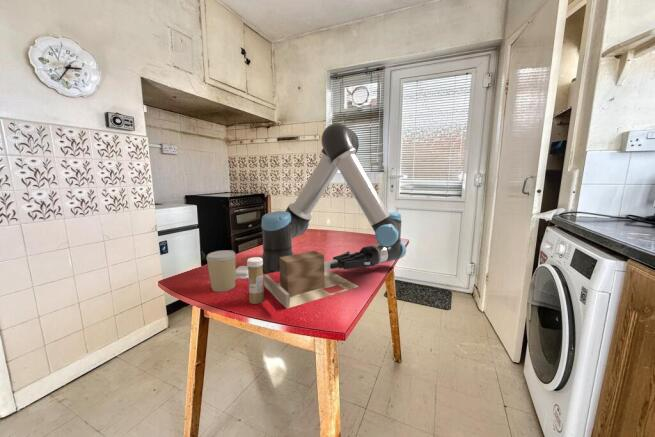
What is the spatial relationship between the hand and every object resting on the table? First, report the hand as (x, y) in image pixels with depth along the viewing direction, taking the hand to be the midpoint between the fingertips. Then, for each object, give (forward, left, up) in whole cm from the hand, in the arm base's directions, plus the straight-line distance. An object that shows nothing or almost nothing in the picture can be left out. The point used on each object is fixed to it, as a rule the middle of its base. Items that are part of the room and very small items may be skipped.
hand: (320, 267), depth 86 cm
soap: (-34, -2, -8) cm, 35 cm away
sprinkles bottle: (-14, -16, -8) cm, 23 cm away
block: (-4, -6, -6) cm, 9 cm away
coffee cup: (-32, -13, -8) cm, 35 cm away
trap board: (-2, -3, -8) cm, 8 cm away
